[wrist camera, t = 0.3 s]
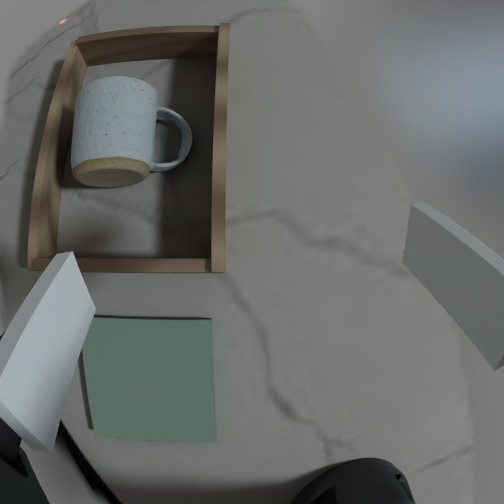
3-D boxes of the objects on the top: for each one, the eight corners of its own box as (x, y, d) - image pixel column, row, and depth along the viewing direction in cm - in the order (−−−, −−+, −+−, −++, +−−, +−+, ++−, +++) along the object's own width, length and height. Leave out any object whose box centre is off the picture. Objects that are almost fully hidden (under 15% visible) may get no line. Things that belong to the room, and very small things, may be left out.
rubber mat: (216, 437, 26) (216, 442, 25) (97, 431, 25) (94, 435, 24) (211, 318, 27) (211, 319, 26) (83, 315, 26) (79, 316, 25)
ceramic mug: (85, 195, 27) (52, 170, 19) (90, 120, 27) (66, 80, 20) (194, 184, 28) (192, 153, 21) (191, 108, 29) (191, 63, 21)
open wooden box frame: (222, 273, 28) (225, 272, 23) (47, 271, 25) (21, 269, 20) (225, 52, 30) (229, 23, 25) (81, 61, 27) (69, 35, 22)
